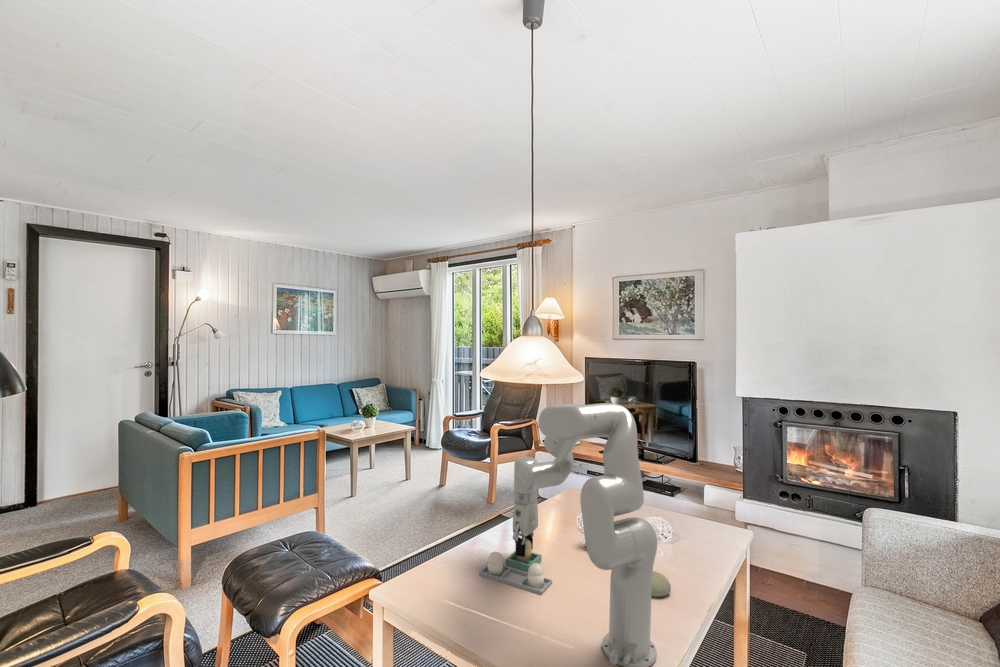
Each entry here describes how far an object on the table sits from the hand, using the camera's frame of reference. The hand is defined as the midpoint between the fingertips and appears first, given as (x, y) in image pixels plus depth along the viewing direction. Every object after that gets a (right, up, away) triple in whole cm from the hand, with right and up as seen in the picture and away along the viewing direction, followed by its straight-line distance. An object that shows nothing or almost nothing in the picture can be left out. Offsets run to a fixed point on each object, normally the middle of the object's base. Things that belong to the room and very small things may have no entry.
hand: (524, 551), depth 155 cm
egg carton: (-3, -4, -10) cm, 11 cm away
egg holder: (0, -4, 0) cm, 4 cm away
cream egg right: (+3, -4, -13) cm, 14 cm away
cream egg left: (-9, -4, -6) cm, 12 cm away
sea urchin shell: (+38, -6, -13) cm, 40 cm away
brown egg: (0, -2, 0) cm, 2 cm away
